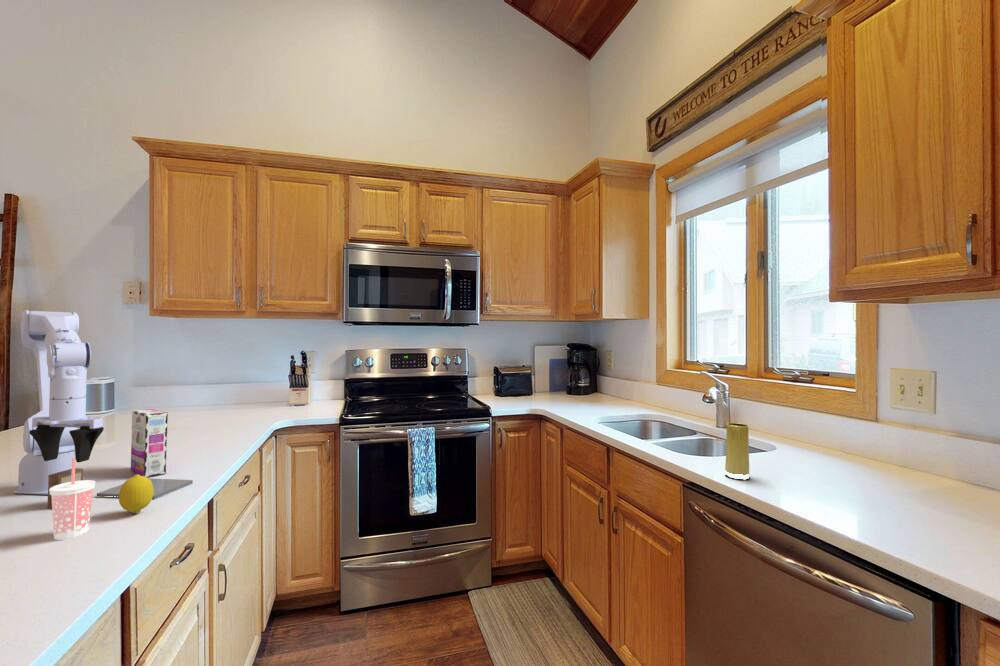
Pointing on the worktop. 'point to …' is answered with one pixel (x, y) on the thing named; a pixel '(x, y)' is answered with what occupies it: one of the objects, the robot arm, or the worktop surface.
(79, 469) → the walnut slab
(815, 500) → the worktop surface
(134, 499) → the lemon
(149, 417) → the candy bar box
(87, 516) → the beverage cup
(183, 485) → the grey flat rectangular plate
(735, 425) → the vase
